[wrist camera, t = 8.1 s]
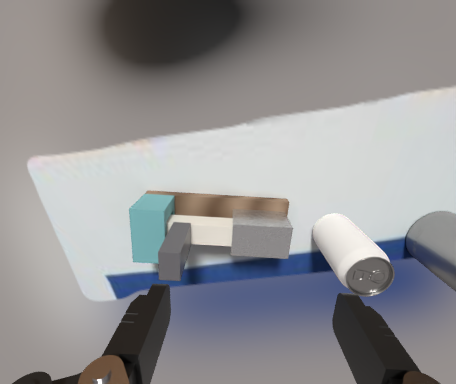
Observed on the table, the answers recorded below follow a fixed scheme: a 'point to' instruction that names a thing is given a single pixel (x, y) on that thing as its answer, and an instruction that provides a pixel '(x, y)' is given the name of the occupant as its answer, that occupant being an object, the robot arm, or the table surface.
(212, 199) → the board
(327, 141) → the table surface
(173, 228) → the sliding bolt
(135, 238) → the socket
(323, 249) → the can
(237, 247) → the grey speckled block
